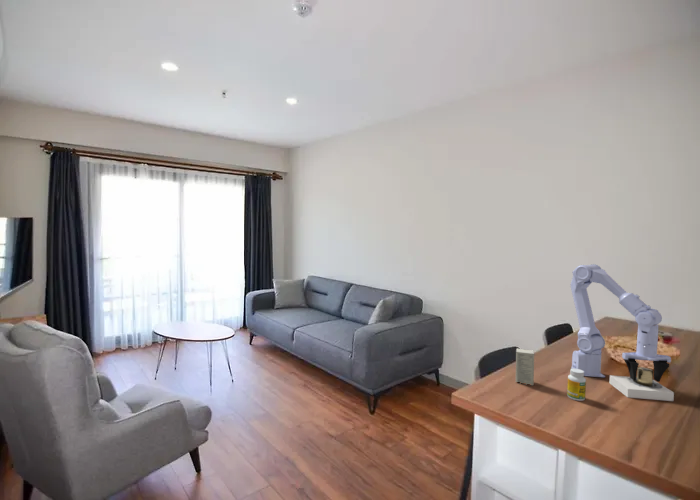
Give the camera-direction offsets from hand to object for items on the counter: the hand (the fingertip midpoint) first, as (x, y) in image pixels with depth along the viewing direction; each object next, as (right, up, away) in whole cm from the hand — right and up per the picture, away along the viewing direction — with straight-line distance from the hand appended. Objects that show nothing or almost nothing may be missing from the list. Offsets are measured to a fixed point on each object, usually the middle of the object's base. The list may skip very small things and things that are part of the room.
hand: (644, 379), depth 131 cm
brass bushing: (0, -4, 0) cm, 4 cm away
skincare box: (-41, -3, +6) cm, 41 cm away
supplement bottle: (-29, -4, -6) cm, 29 cm away
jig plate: (-2, -4, 0) cm, 5 cm away
